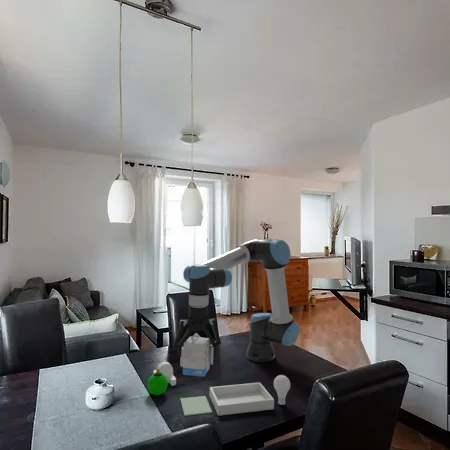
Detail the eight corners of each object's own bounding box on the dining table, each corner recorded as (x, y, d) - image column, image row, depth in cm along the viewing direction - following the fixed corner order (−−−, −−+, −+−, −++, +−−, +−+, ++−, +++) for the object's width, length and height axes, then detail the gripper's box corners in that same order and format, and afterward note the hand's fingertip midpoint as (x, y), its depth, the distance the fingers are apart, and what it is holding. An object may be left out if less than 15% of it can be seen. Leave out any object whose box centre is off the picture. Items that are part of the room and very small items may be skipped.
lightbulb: (271, 400, 128) (272, 372, 129) (287, 400, 129) (287, 372, 129) (275, 409, 122) (276, 379, 123) (292, 408, 123) (292, 379, 123)
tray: (259, 390, 136) (259, 382, 137) (273, 408, 122) (274, 399, 122) (209, 396, 131) (209, 387, 131) (218, 415, 117) (218, 405, 117)
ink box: (204, 377, 118) (205, 340, 119) (182, 374, 120) (183, 338, 120) (209, 368, 127) (211, 333, 127) (189, 365, 128) (190, 331, 129)
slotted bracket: (152, 376, 148) (153, 358, 149) (167, 373, 151) (168, 356, 152) (160, 388, 137) (161, 369, 137) (176, 385, 140) (177, 366, 140)
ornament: (148, 389, 135) (149, 365, 135) (168, 389, 135) (169, 365, 136) (145, 399, 127) (146, 373, 127) (166, 399, 127) (167, 373, 128)
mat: (205, 396, 130) (205, 395, 130) (212, 412, 118) (212, 411, 119) (180, 399, 127) (180, 398, 127) (184, 415, 116) (184, 414, 116)
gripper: (225, 302, 131) (223, 358, 130) (167, 304, 125) (164, 362, 124) (230, 306, 124) (228, 365, 123) (168, 308, 118) (166, 370, 117)
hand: (196, 364), depth 123 cm, fingers closed on ink box, 11 cm apart
